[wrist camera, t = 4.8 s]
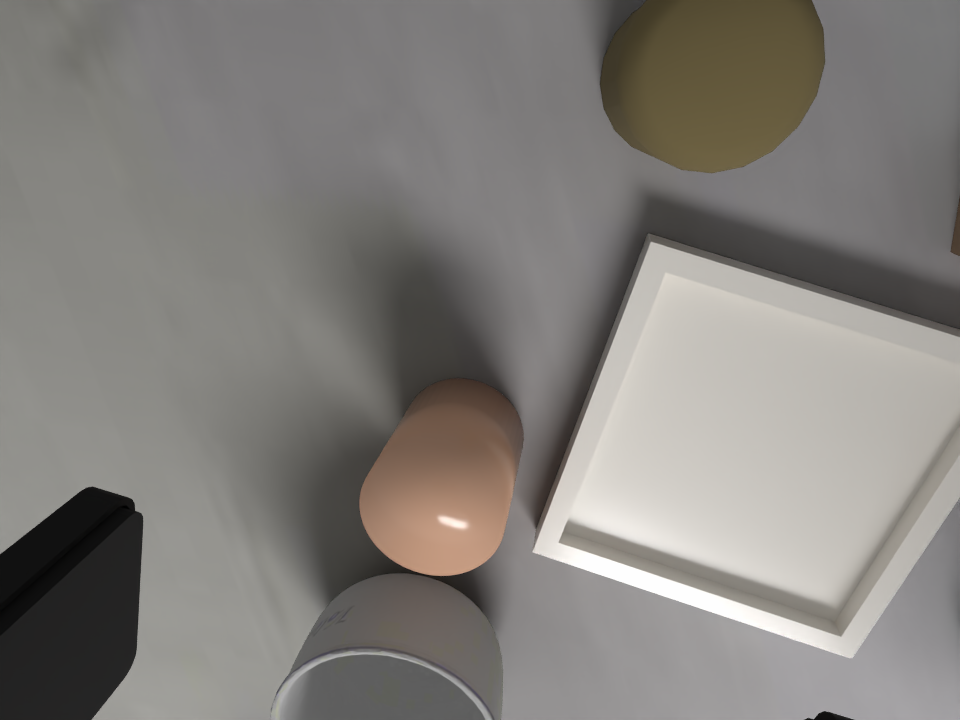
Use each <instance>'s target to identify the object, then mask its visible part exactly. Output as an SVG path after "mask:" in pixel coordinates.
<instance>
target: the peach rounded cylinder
mask: <svg viewBox="0 0 960 720" xmlns="http://www.w3.org/2000/svg"><path fill="white" fill-rule="evenodd" d="M523 441H524V433H523V427H522V423H521V420H520V417H519V415H518V413H517V411H516V410H515V408H514V407H513V405H512V404H511V403H510V402H509V400H508V399H507V398H506V397H505V396H504V395H502V394H501V393H500V392H499V391H497V390H496V389H494V388H492V387H491V386H489V385H487V384H484V383H482V382H479V381H475V380H471V379H464V378H454V379H447V380H443V381H439V382H436V383H434V384H432V385H430V386H428V387H426V388H425V389H424V390H423V391H421V392H420V393H419V394H418V395H417V396H416V397H415V399H414V400H413V401H412V403H411V404H410V406H409V408H408V409H407V411H406V413H405V414H404V416H403V418H402V419H401V421H400V422H399V424H398V426H397V427H396V429H395V431H394V432H393V434H392V436H391V437H390V439H389V441H388V442H387V444H386V445H385V447H384V449H383V450H382V452H381V454H380V455H379V457H378V459H377V460H376V462H375V464H374V465H373V467H372V468H371V470H370V472H369V473H368V475H367V477H366V479H365V481H364V483H363V486H362V489H361V493H360V500H359V507H360V515H361V518H362V522H363V525H364V527H365V529H366V532H367V533H368V535H369V537H370V538H371V540H372V541H373V542H374V544H375V545H376V546H377V547H378V548H379V549H380V550H381V551H382V552H383V553H384V554H385V555H386V556H387V557H389V558H390V559H391V560H393V561H394V562H396V563H397V564H399V565H401V566H403V567H405V568H407V569H410V570H412V571H415V572H419V573H422V574H428V575H435V576H450V575H457V574H461V573H465V572H468V571H470V570H473V569H475V568H477V567H478V566H480V565H482V564H483V563H484V562H486V561H487V560H488V559H489V558H490V557H491V556H492V555H493V554H494V553H495V551H496V550H497V548H498V547H499V545H500V543H501V541H502V538H503V535H504V531H505V527H506V522H507V517H508V513H509V508H510V504H511V499H512V494H513V490H514V485H515V481H516V476H517V471H518V467H519V462H520V458H521V453H522V448H523Z"/></svg>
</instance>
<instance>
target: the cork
mask: <svg viewBox="0 0 960 720" xmlns="http://www.w3.org/2000/svg"><path fill="white" fill-rule="evenodd" d="M824 65H825V51H824V32H823V27H822V24H821V22H820V19H819V17H818V14H817V12H816V10H815V7H814V5H813V2H812V0H646V2H645V3H644V4H643V5H642V6H641V7H640V8H639V9H638V10H636V11H635V12H633V13H632V14H631V15H630V17H629V18H628V19H627V20H626V21H625V22H624V24H623V25H622V26H621V27H620V28H619V29H618V31H617V32H616V33H615V35H614V37H613V39H612V41H611V43H610V46H609V48H608V50H607V52H606V54H605V56H604V60H603V67H602V74H601V80H600V87H601V94H602V100H603V107H604V110H605V112H606V114H607V116H608V118H609V120H610V122H611V124H612V126H613V128H614V130H615V131H616V132H617V133H618V134H619V135H620V136H621V137H622V138H623V139H624V140H625V141H626V142H627V143H628V144H629V145H630V146H631V147H633V148H636V149H638V150H640V151H642V152H644V153H646V154H648V155H651V156H654V157H655V158H657V159H660V160H662V161H664V162H666V163H668V164H670V165H672V166H675V167H677V168H679V169H681V170H688V171H697V172H706V173H715V172H720V171H725V170H730V169H735V168H740V167H744V166H746V165H747V164H749V163H751V162H753V161H755V160H757V159H759V158H761V157H763V156H764V155H766V154H768V153H770V152H772V151H773V150H774V149H775V148H776V147H777V146H778V145H779V144H781V143H782V142H783V141H784V140H785V139H786V138H787V137H788V136H789V135H790V134H791V133H792V132H793V131H794V130H795V129H796V128H797V127H798V126H799V124H800V123H801V121H802V119H803V118H804V116H805V114H806V113H807V111H808V109H809V108H810V106H811V104H812V102H813V101H814V99H815V97H816V96H817V92H818V88H819V84H820V80H821V76H822V72H823V69H824Z"/></svg>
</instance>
